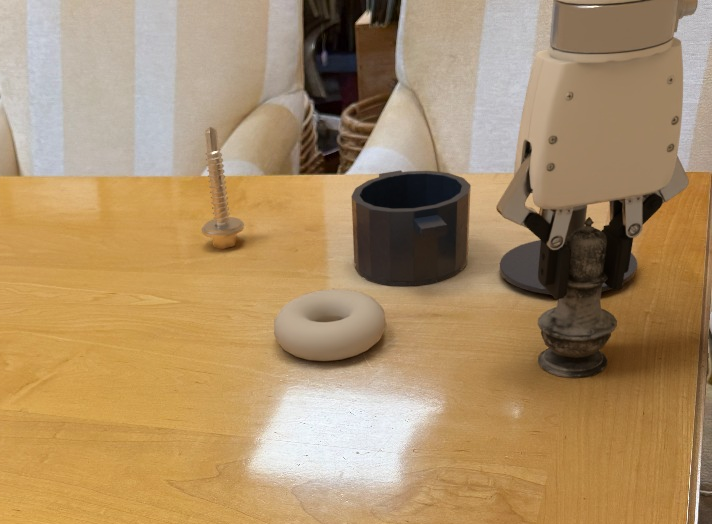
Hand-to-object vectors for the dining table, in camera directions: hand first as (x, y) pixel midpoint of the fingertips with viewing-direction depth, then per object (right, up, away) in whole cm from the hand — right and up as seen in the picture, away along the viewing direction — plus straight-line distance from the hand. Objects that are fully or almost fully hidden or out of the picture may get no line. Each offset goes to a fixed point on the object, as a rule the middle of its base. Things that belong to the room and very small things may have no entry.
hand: (581, 284), depth 70 cm
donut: (-18, -2, +12) cm, 22 cm away
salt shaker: (+1, -5, +4) cm, 7 cm away
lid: (+5, +6, +16) cm, 18 cm away
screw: (-27, +12, +34) cm, 45 cm away
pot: (-8, +8, +23) cm, 26 cm away
